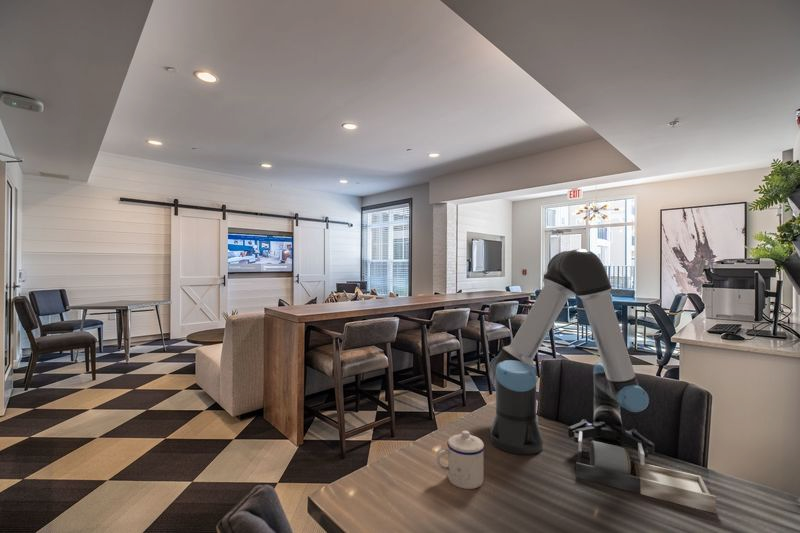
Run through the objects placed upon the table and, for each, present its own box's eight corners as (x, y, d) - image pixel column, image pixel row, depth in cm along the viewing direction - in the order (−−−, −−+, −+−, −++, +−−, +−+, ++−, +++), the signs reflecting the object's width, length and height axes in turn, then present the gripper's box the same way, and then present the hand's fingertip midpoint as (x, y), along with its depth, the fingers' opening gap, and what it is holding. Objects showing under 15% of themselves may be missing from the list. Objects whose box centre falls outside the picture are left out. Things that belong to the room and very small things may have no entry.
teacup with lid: (477, 468, 92) (477, 423, 92) (489, 489, 83) (489, 439, 83) (432, 470, 90) (432, 425, 91) (440, 492, 81) (440, 441, 82)
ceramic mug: (632, 485, 84) (632, 453, 85) (594, 479, 87) (594, 447, 87) (620, 464, 94) (619, 435, 95) (586, 459, 97) (586, 430, 97)
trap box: (576, 477, 88) (576, 463, 88) (578, 454, 99) (578, 441, 99) (716, 513, 75) (716, 497, 75) (700, 482, 86) (700, 467, 86)
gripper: (657, 444, 101) (671, 482, 82) (563, 425, 113) (556, 454, 95) (657, 418, 101) (671, 449, 83) (562, 402, 113) (556, 426, 95)
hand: (610, 452), depth 89 cm, fingers open, 13 cm apart
